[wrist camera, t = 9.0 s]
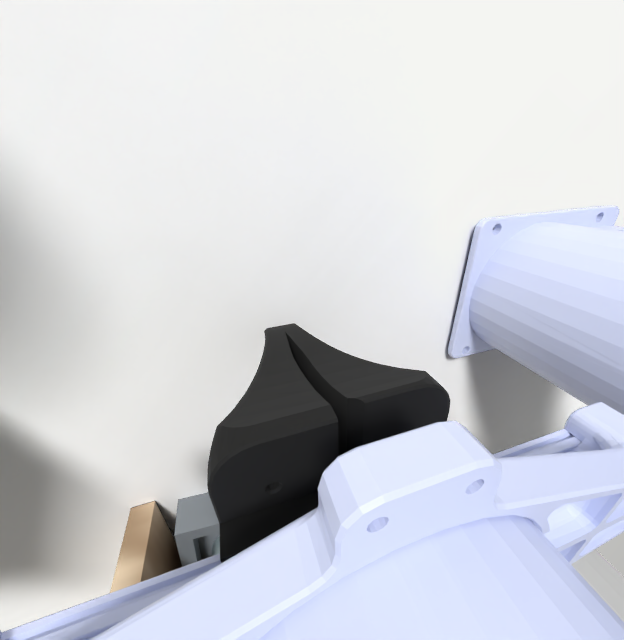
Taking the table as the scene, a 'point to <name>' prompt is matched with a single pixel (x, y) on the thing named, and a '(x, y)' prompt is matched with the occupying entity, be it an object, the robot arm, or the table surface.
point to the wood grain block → (145, 548)
